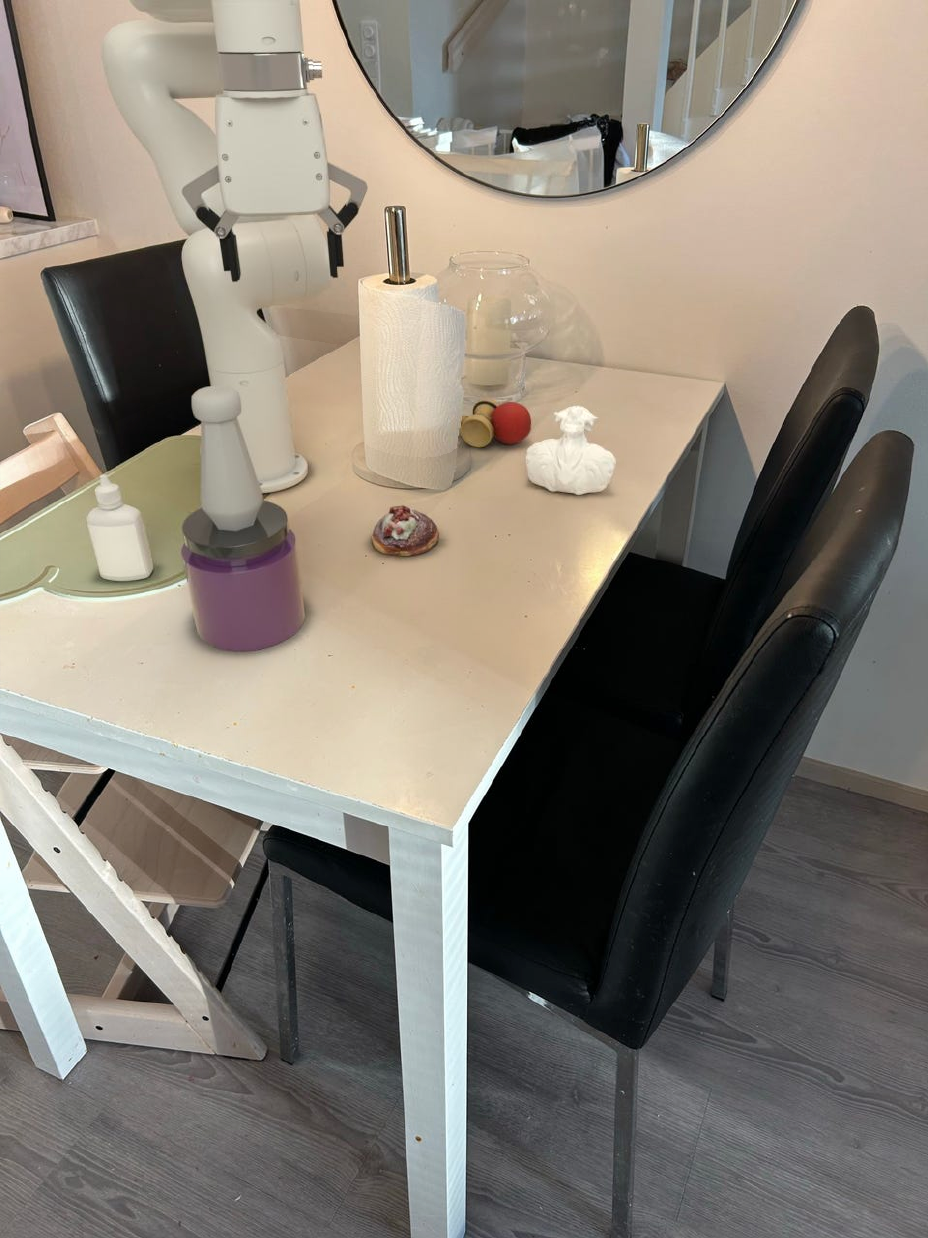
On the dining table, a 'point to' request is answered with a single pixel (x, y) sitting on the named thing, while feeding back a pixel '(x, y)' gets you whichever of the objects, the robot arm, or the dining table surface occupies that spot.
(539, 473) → the bust
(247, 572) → the jar
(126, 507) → the eye dropper bottle
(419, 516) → the pastry
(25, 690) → the dining table surface
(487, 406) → the kendama
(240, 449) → the salt shaker
